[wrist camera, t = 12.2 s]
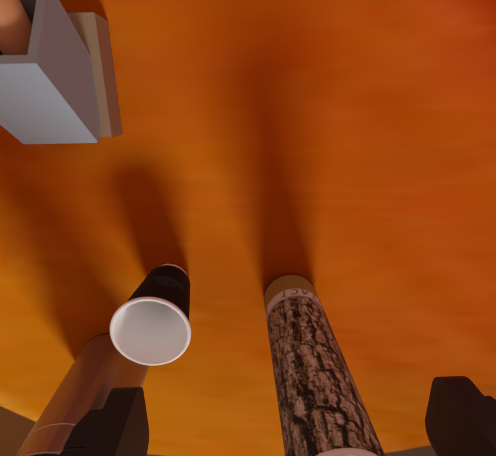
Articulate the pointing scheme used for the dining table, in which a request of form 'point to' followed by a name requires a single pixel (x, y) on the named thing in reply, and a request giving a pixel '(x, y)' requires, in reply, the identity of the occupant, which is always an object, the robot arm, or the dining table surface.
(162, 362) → the dixie cup
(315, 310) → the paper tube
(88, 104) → the socket
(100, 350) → the robot arm
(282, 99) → the dining table surface
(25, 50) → the dowel
